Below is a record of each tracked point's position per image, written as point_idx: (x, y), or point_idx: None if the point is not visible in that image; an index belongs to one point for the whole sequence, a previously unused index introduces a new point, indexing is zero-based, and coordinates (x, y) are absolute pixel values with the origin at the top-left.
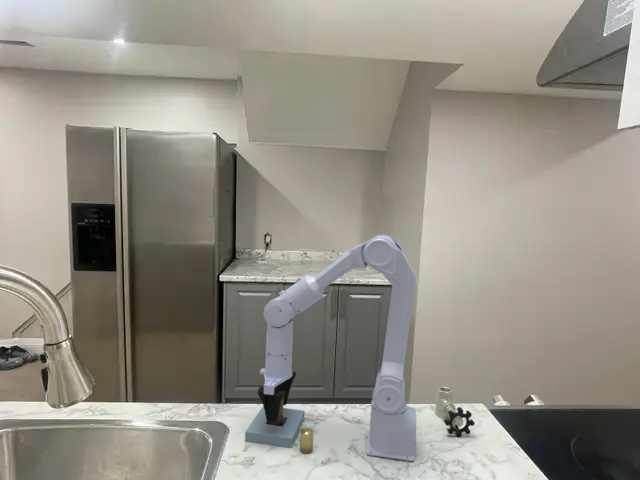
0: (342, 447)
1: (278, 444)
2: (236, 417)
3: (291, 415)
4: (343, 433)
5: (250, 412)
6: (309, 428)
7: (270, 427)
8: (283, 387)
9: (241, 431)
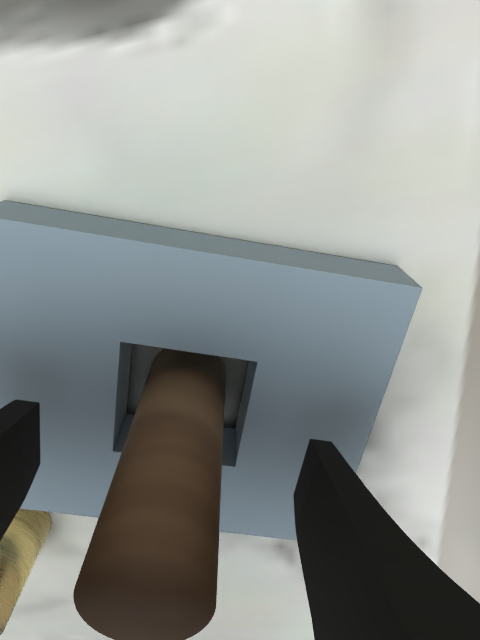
0: (83, 631)
1: None
2: (344, 50)
3: (264, 483)
4: (195, 636)
5: (425, 164)
6: (2, 627)
7: (82, 381)
8: (335, 632)
9: (128, 145)
